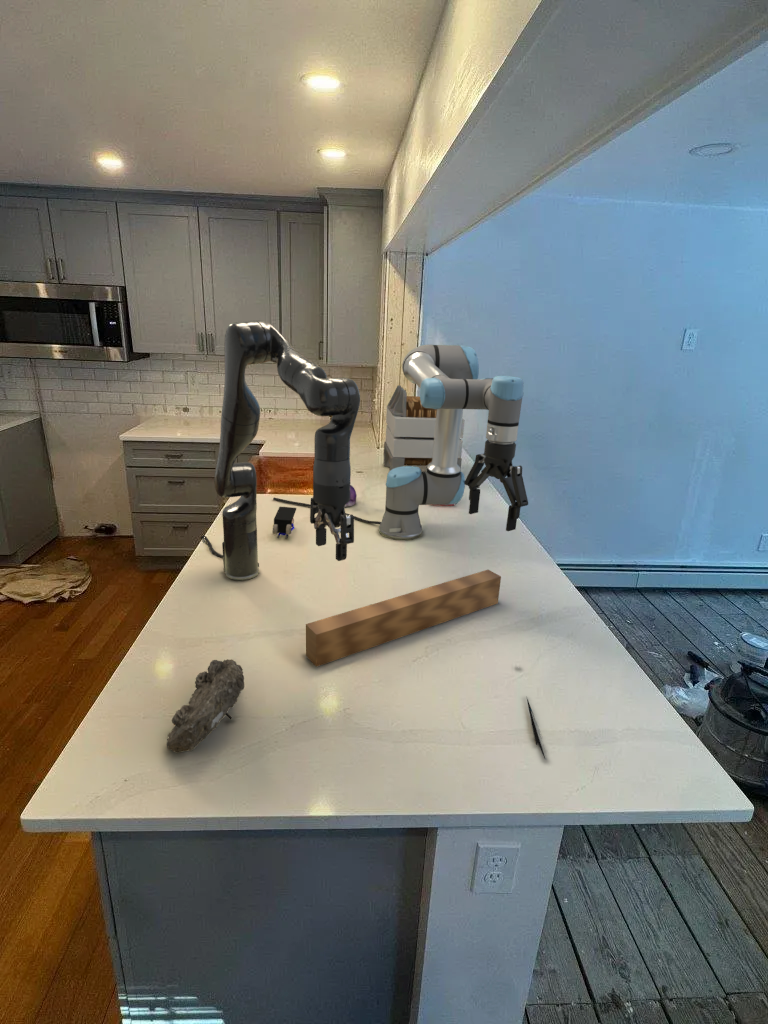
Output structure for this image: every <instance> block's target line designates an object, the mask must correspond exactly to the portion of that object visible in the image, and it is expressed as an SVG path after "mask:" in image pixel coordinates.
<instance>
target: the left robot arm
mask: <svg viewBox="0 0 768 1024" xmlns="http://www.w3.org/2000/svg"><path fill="white" fill-rule="evenodd" d="M223 345H224V347H223V348H224V349H223V351H224V388H223V398H222V405H221V406H222V407H221V416H220V433H219V445H218V446H219V448H218V453H217V458H216V464H215V469H214V480H213V481H214V490H215V492H216V493H217V495H218V496H219V497H220V498H237V497H239V498H238V499H237V500H235V501H234V502H233V503H231V504H229V505H226V506H225V507H224V508H223V509H222V512H221V513H222V514H221V516H222V529H223V530H222V531H223V532H222V533H223V541H222V543H221V545H222V547H221V548H222V554H221V553H219V552H217V551H216V550H215V549H214V548H213V544H212V542H211V541H210V540H209V538H208V537H207V536H206V535H202V536H201V537H200V539H201V540H203V539H204V540H205V542H206V543H207V545H208V547H209V550H210V552H211V553H213V554H214V555H215V556H217V557H219V558H221V559H222V565H223V573H225V577H226V578H227V579H230V580H233V581H248V580H251V579H254V578H255V577H257V576H258V575H259V574H260V573H259V571H260V570H259V568H260V563H259V550H258V549H259V548H258V526H257V509H258V508H257V507H258V506H257V498H258V497H257V495H258V494H257V492H258V477H257V471H256V467H255V465H254V464H253V463H252V462H249V461H243V462H241V461H240V462H236V460H237V459H238V458H239V456H240V455H241V454H242V453H243V452H244V451H245V449H246V448H248V447H249V445H250V444H251V443H252V442H253V441H254V440H255V438H256V436H257V434H258V431H259V427H260V419H261V407H260V404H259V401H258V399H257V398H256V396H255V395H254V393H253V392H252V390H251V389H250V387H249V386H248V383H247V382H246V368H247V367H248V366H249V365H256V364H264V363H268V362H272V363H275V364H276V371H277V374H278V376H279V379H280V380H281V382H282V383H283V384H284V385H285V386H286V387H287V388H289V389H290V390H291V391H293V392H294V393H296V394H297V395H298V396H299V397H300V399H301V401H302V402H303V404H304V405H305V407H306V409H307V411H308V412H310V413H311V414H313V415H315V416H318V417H331V419H330V421H329V423H327V424H325V425H323V426H321V427H319V428H317V429H316V430H315V433H314V457H313V458H314V460H313V467H312V497H311V498H310V505H311V506H310V507H309V508H310V511H309V516H310V517H309V522H310V524H311V525H312V524H313V528H314V530H315V545H316V546H317V547H322V546H325V545H327V527H328V529H329V531H330V534H331V535H332V536H333V537H334V539H335V560H336V561H338V562H341V561H345V560H347V558H348V556H347V555H348V554H347V553H348V545H350V544H354V543H355V519H354V516H355V515H354V514H353V513H352V514H350V515H347V514H348V513H347V514H345V513H346V510H345V507H344V506H345V505H346V504H347V503H348V502H349V500H350V485H351V483H350V482H351V478H352V477H351V476H352V475H351V472H352V471H351V470H352V469H351V468H352V467H351V436H352V433H353V431H354V427H355V426H354V425H355V423H356V420H357V416H358V414H359V409H360V406H361V405H360V404H361V394H360V390H359V387H358V384H357V383H356V381H354V379H352V378H350V377H345V376H344V377H329V378H328V375H327V374H326V372H325V370H324V369H323V368H322V367H321V366H320V365H318V364H317V363H315V362H313V361H312V360H310V359H309V358H307V356H305V355H303V354H302V353H300V352H299V351H298V350H297V349H296V348H295V347H294V346H293V345H292V344H291V343H290V342H289V341H288V339H286V337H284V336H283V335H282V333H281V332H280V331H279V329H277V328H276V327H275V326H274V325H272V324H271V323H270V322H268V321H266V320H248V321H237V322H233V323H230V324H229V325H228V326H227V327H226V330H225V334H224V344H223ZM339 527H340V528H339ZM204 537H205V538H204Z"/></svg>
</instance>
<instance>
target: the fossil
mask: <svg viewBox="0 0 768 1024" xmlns="http://www.w3.org/2000/svg"><path fill="white" fill-rule="evenodd" d="M243 670H244V669H243V667H242V665H240V664H237V662H236V661H235V660H234V659H232V658H231V659H227V658H226V659H224V660H223V661H222V660H217V659H212V660H211V661H210V663H209V665H208V666H207V671H201V672H199V673H198V674H197V675H196V676H195V680H194V684H195V685H194V687H195V689H194V690H193V693H192V694H191V697H190V698H189V700H188V704H184V705H182V706H181V707H180V709H177V710H176V711H175V713H174V715H173V716H172V718H171V723H172V724H173V727H172V730H171V731H170V732H168V734H167V738H166V741H167V742H166V745H167V749H168V750H169V751H173V752H174V753H176V754H178V753H182V752H188V751H189V752H192V751H193V750H195V748H196V747H197V746H199V744H200V743H201V742H203V741H204V740H205V739H206V738H207V737H208V736H209V735H210V734H211V733H212V732H214V730H215V729H217V727H218V726H219V724H220V722H221V721H222V720H223V719H224V718H225V716H226V717H227V719H229V720H233V717H232V715H230V714H229V710H230V709H231V708H234V706H235V704H236V703H237V702H238V699H239V697H240V695H241V693H242V691H243V690H245V689H244V688H245V675H244V671H243Z"/></svg>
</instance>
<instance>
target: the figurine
mask: <svg viewBox="0 0 768 1024" xmlns="http://www.w3.org/2000/svg"><path fill="white" fill-rule="evenodd" d="M356 502H357V491H356V489H355V487H354V486H353V485H352V484H351V481H350V500H349V502H348V503H347V504H346V505H345V506H344V508H346V507H352V506H354V505H355V504H356Z"/></svg>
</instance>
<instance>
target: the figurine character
mask: <svg viewBox="0 0 768 1024" xmlns="http://www.w3.org/2000/svg"><path fill="white" fill-rule="evenodd" d="M296 511H297V507H289V506H278V509H277V512H276V513H275V516H274V517H273V525H272V535H275V536H276V535H277V536H276V538H277V539H280V538H281V536H285V540H287V539H288V538H289V536H290V535H291V534H292V531H293V530H295V519H294V517H295V514H296Z"/></svg>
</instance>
